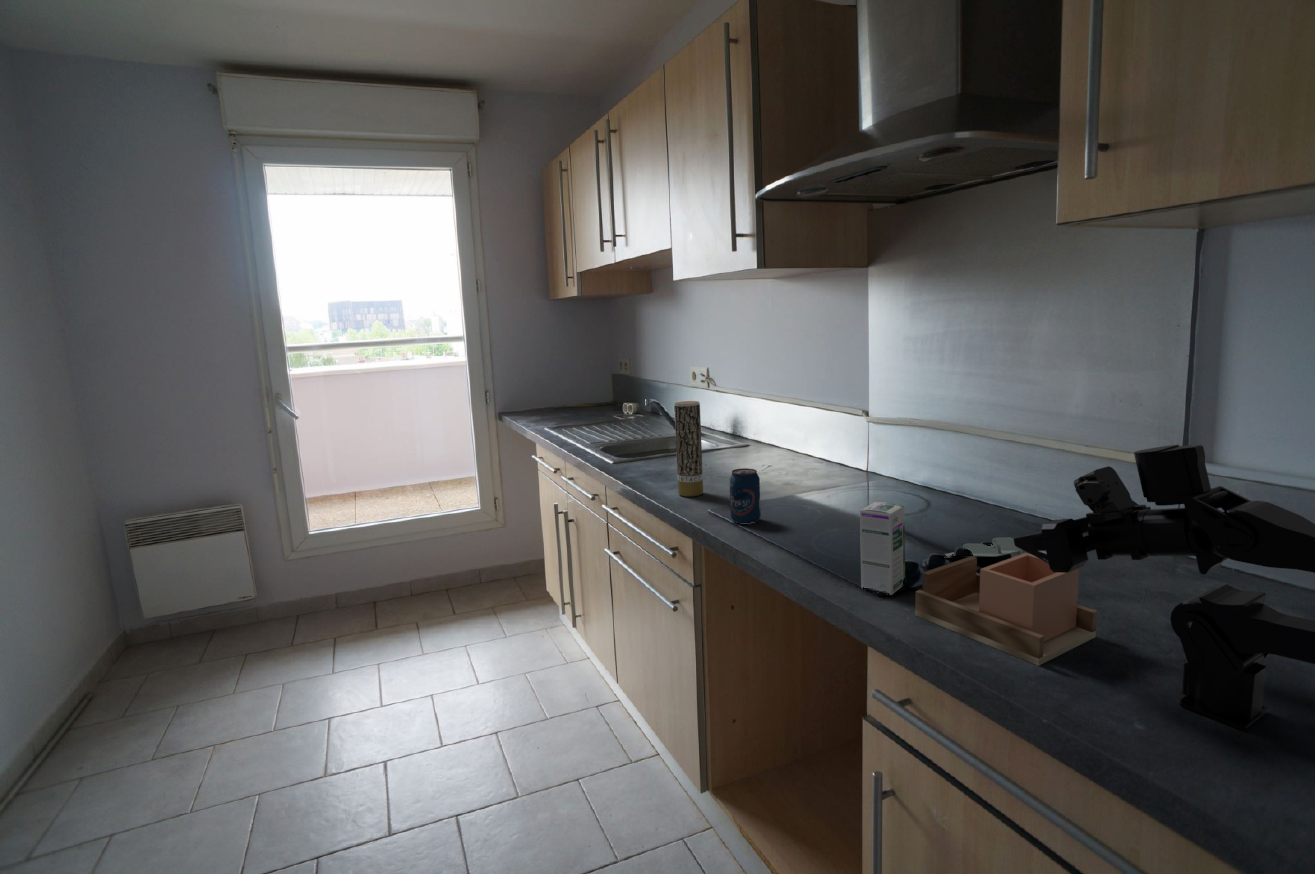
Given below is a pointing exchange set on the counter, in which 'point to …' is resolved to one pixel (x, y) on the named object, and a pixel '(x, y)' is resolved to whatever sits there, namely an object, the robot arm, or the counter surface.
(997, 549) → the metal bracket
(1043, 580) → the box
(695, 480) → the paper tube
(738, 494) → the soda can
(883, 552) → the syrup box
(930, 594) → the wooden bay
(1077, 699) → the counter surface
